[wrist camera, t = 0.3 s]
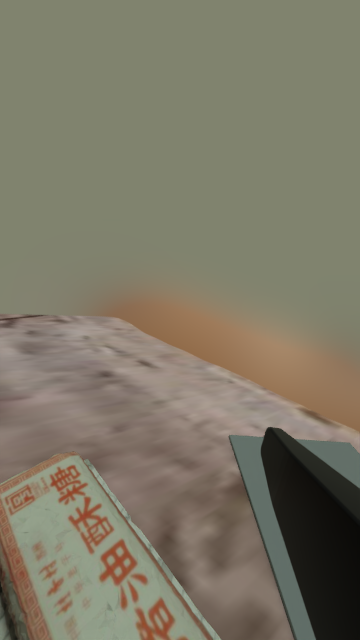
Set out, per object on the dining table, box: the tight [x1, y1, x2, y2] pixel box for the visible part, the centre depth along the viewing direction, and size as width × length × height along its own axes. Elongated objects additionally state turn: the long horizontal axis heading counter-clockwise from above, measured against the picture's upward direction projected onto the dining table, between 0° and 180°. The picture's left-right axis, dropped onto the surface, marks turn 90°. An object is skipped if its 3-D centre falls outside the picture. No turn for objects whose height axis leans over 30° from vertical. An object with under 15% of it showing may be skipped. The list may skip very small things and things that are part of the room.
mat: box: [229, 435, 360, 640], centre depth 21 cm, size 20×16×1 cm
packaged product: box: [0, 451, 221, 640], centre depth 14 cm, size 18×5×10 cm
